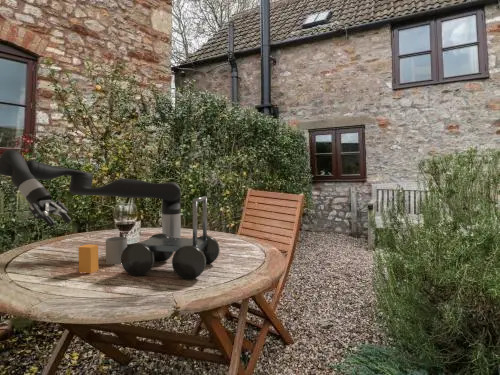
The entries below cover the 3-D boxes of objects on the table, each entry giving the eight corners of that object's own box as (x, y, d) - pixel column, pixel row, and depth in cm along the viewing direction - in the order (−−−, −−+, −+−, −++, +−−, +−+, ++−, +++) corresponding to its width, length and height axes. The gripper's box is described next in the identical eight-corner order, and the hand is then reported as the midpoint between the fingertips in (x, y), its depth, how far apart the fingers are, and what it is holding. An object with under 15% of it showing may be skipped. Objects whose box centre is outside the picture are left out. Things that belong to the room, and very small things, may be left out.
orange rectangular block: (78, 273, 122) (78, 247, 122) (86, 269, 126) (86, 244, 126) (90, 274, 121) (90, 247, 121) (98, 270, 126) (98, 245, 125)
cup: (110, 259, 141) (109, 237, 141) (129, 259, 142) (129, 236, 141) (103, 265, 133) (102, 241, 132) (123, 264, 133) (123, 240, 133)
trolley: (121, 275, 120) (120, 197, 119) (148, 259, 141) (148, 194, 140) (204, 280, 115) (204, 199, 113) (219, 264, 136) (219, 195, 134)
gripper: (43, 198, 134) (68, 227, 132) (13, 201, 120) (40, 233, 118) (54, 185, 133) (80, 214, 131) (25, 187, 119) (53, 219, 117)
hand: (61, 223), depth 125 cm, fingers open, 8 cm apart
